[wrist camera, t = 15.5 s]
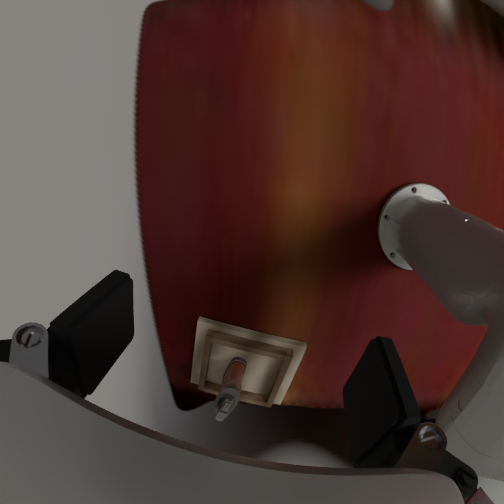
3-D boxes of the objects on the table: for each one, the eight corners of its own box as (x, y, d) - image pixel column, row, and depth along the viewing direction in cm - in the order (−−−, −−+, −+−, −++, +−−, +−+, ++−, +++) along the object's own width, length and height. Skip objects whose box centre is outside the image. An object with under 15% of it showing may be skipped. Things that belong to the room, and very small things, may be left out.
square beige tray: (306, 342, 43) (307, 355, 40) (280, 400, 49) (279, 412, 46) (199, 316, 44) (193, 327, 41) (192, 378, 50) (187, 389, 47)
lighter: (236, 387, 48) (225, 428, 38) (219, 381, 48) (206, 422, 38) (251, 360, 45) (241, 405, 35) (232, 354, 45) (219, 397, 35)
